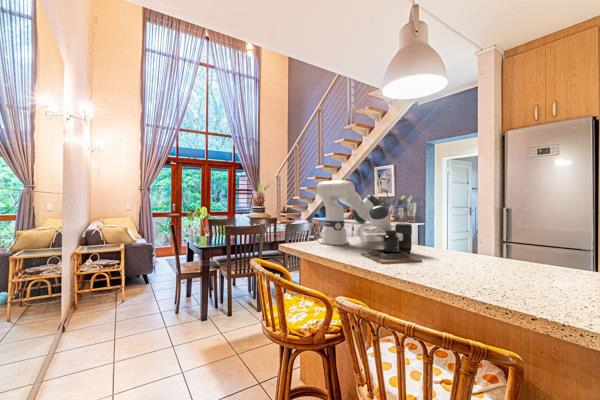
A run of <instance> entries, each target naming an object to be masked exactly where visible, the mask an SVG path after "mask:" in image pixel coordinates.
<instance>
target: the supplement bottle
mask: <svg viewBox="0 0 600 400" xmlns="http://www.w3.org/2000/svg"><path fill="white" fill-rule="evenodd" d="M396 234H397V231H396V230H395V229H392V230H386V236H385V237H384V242H383V249H384V254H399V238H398V236H396Z"/></svg>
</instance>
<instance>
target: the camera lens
mask: <svg viewBox="0 0 600 400" xmlns="http://www.w3.org/2000/svg"><path fill="white" fill-rule="evenodd" d="M394 230H396V231H397V233H401V234H403V240H402V241H399V251H402V252H405V253H408V254H409V255H410V254H411V251H412V235H413V226H412V224H411V223H395V228H394Z"/></svg>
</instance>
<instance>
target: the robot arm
mask: <svg viewBox="0 0 600 400" xmlns="http://www.w3.org/2000/svg"><path fill="white" fill-rule="evenodd" d="M315 191H316V194H317V195H318V196H319V198H320V199H322V201H323V204H324V207H325V221H324V227H323V229H322V230H321V232H319V233H318V234H319V238H317V241H318V243H319V244H323V245H330V246H331V245H334V246H335V245H336V246H337V245H338V246H339V245H341V246H343V245H346V244H349V243H350V242H349V240H348V237H347V235H348V234H347V229H346V228H345V225H346V224H345V220H344V217H345V215H344V214H345V211H344V210H345V209H344V207H343V206H342V205H341V204H339V203H338V201H339V202H340V203H342V204H343V205H345V206H348V207H350V208H352V209H351V215H352V216H351V217H352V219H353V220H354V222H355V223H358V224H359V225H360V226H359V227H358V228H357V232H356V233H357V236H358V238H359V239H360V242H361V243H364V244H366V243H367V244H368V243H369V244H374V245H381V244H382V243H384V237H385V236H386V230H393V228H392V223H391V220H390V214H389V210H388V208H387V207H386V206H385V205H381V200H380V199H379V197H378V196H376V195H375V194H371V193H370V194H368V195H366V196H365V198H364V199H363V200H362V197H361V196H360V194H359V193H358V192H357V191H356V187H355V184H354V183H353V181H350V180H346V179H345V180H344V179H343V180H340V179H339V180H324V181H319V183H318V184H317V185H316V189H315ZM367 221H368V222H369V225H368V224H365V223H367ZM396 236H398V238H399V241H402V240H403V234H401V233H397V234H396Z"/></svg>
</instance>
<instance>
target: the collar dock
mask: <svg viewBox="0 0 600 400" xmlns="http://www.w3.org/2000/svg"><path fill="white" fill-rule="evenodd" d="M360 256H363V257H364V258H367V259H369V260H372V261H374V262H376V263H379V264H381V265H387V264H388V265H389V264H407V263H422V262H423V259H421V258H419V257H415V256H412V255H410V254H408V253H405V252H402V251H399V254H384V248H382V249H371V252H369V251H368V252H360Z"/></svg>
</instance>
